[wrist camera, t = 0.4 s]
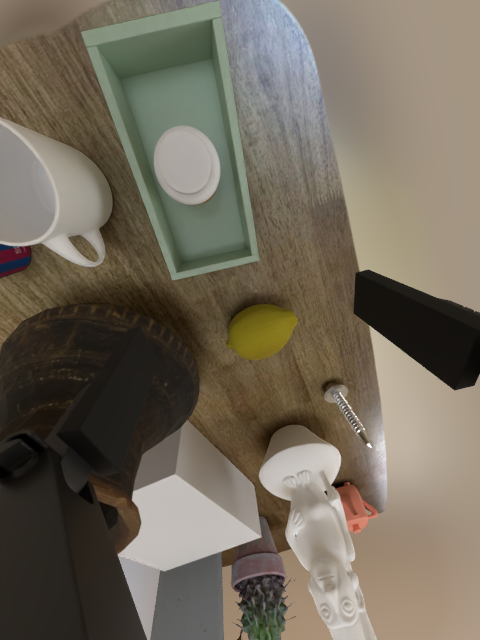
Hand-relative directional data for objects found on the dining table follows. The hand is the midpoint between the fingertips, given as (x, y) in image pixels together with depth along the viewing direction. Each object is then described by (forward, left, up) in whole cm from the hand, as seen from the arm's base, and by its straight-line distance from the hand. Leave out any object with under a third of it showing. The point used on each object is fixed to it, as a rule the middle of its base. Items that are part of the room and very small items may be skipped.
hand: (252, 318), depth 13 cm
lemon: (+11, +2, -20) cm, 22 cm away
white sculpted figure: (+47, +5, -20) cm, 51 cm away
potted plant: (+87, -11, -20) cm, 90 cm away
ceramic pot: (+12, -20, -20) cm, 30 cm away
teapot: (+78, +18, -20) cm, 82 cm away
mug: (-9, -16, -20) cm, 27 cm away
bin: (-10, -2, -19) cm, 22 cm away
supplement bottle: (-10, -2, -19) cm, 21 cm away
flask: (+78, -29, -20) cm, 85 cm away
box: (+50, -25, -20) cm, 59 cm away
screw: (+31, +15, -20) cm, 39 cm away
